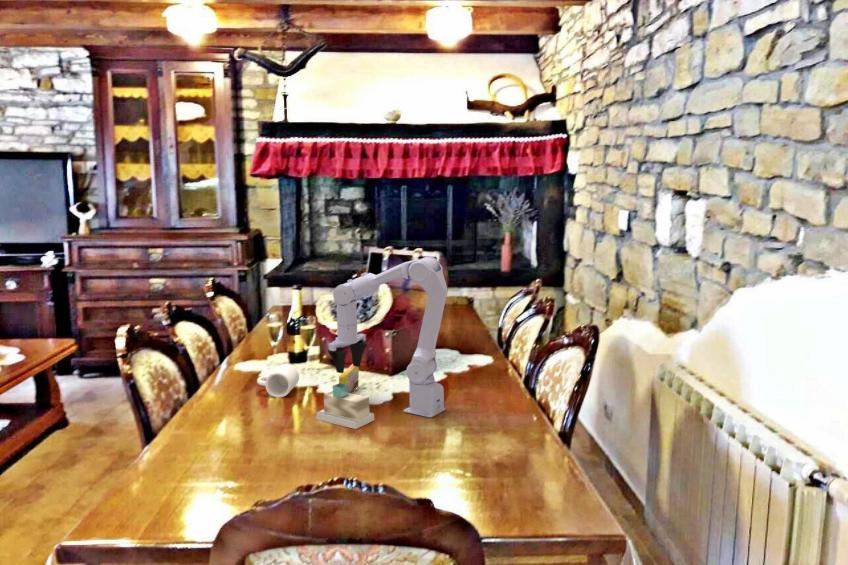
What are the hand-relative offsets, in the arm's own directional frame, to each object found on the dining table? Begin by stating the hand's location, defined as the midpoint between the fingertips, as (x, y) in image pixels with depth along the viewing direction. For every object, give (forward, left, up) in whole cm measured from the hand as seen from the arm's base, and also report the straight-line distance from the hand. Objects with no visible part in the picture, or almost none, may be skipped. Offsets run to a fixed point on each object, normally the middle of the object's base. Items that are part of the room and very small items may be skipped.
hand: (348, 369), depth 209 cm
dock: (-8, +12, -10) cm, 17 cm away
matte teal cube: (-7, +12, -3) cm, 15 cm away
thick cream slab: (-9, +12, -8) cm, 17 cm away
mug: (+26, +4, -11) cm, 28 cm away
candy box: (+5, -6, -11) cm, 13 cm away
